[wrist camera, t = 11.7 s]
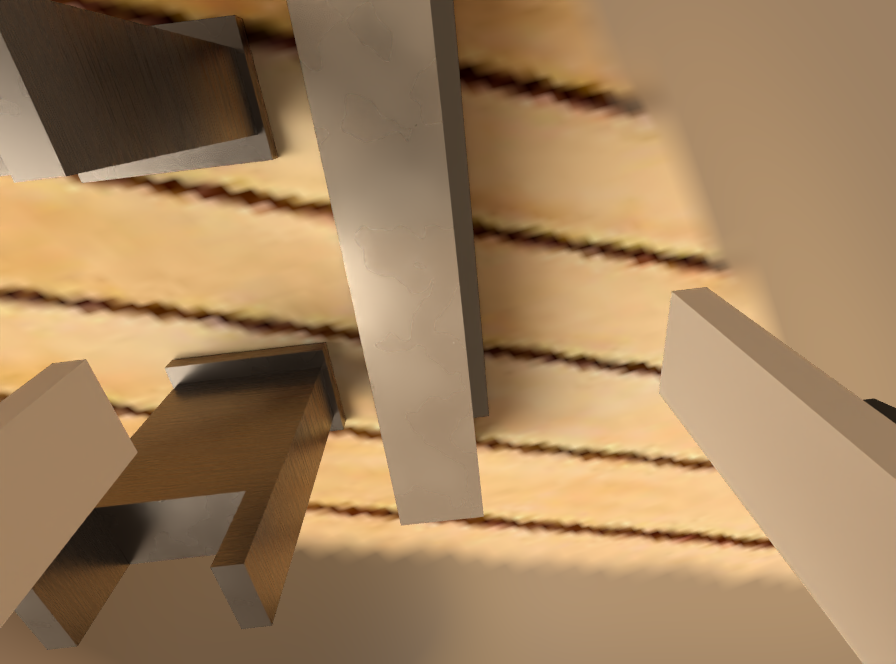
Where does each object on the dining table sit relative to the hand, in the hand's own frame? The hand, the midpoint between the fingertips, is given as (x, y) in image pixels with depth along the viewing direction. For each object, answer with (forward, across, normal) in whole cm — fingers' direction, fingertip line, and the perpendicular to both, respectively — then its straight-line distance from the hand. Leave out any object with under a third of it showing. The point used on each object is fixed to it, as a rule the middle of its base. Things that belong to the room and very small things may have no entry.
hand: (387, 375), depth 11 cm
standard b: (+12, -9, -8) cm, 17 cm away
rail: (+12, 0, -1) cm, 12 cm away
